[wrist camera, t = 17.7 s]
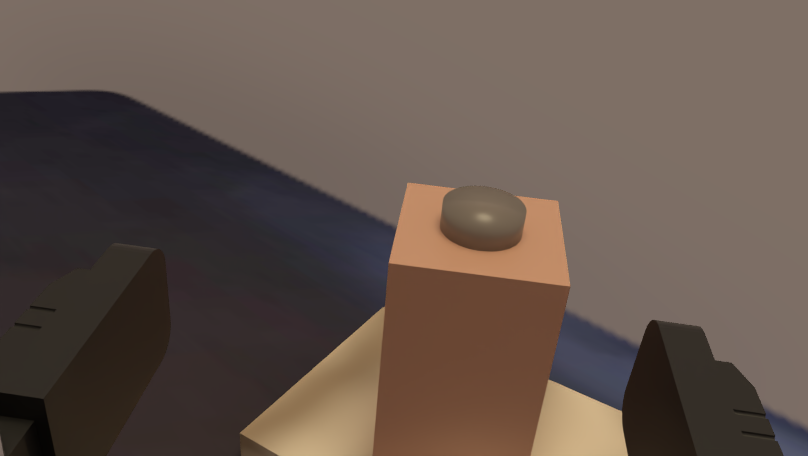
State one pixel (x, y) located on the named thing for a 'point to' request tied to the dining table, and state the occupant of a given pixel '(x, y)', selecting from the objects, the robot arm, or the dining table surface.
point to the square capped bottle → (469, 322)
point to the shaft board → (357, 402)
